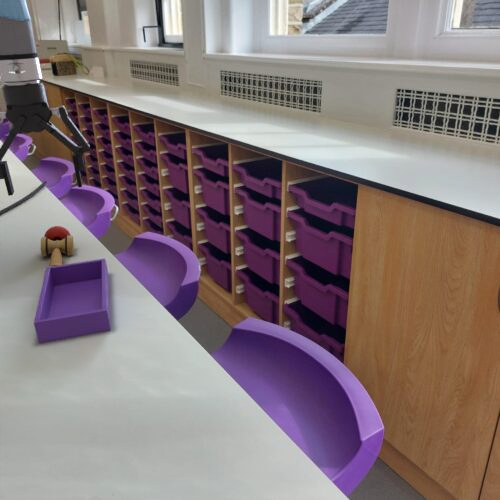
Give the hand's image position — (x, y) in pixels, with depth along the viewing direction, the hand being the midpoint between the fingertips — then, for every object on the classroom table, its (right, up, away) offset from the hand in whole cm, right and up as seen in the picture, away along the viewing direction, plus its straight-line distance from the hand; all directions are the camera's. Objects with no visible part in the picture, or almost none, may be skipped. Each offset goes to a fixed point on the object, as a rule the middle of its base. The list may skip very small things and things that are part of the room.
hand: (46, 189), depth 102 cm
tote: (+10, -24, -10) cm, 28 cm away
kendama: (-1, -15, +10) cm, 18 cm away
